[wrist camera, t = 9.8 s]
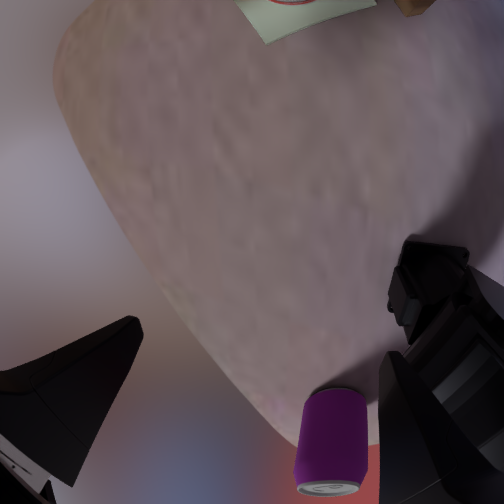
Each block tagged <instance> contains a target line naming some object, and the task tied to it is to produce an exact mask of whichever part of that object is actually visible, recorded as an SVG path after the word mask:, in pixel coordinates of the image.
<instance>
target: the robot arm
mask: <svg viewBox="0 0 504 504" xmlns="http://www.w3.org/2000/svg"><path fill="white" fill-rule="evenodd" d="M408 246H411V248H410V249H409V250H407V247H408ZM464 253H465V255H464V256H463V254H464ZM469 255H470V253H469V251H468V250H467V249H466V248H463V247H455V246H447V245H439V244H431V243H422V242H414V241H407V242H405V243H404V244H403V246H402V251H401V255H400V259H399V263H398V266H396V267H395V268H394V272H393V276H392V280H391V284H390V287H389V291H388V296H389V301H388V304H387V308H388V311H389V312H391V313H394V315H395V318H396V322H397V324H398V325H399V326H403V328H404V331H405V334H406V338H407V341H408V344H409V345H411V346H410V347H409V348H408V349H407V351H406V352H405V353H404V354H403V355H402V354H401V353H400V352H398V351H388V352H387V353H386V355H385V357H384V359H383V362H382V364H381V366H380V370H379V399H378V420H379V442H380V489H379V504H504V287H503V286H502V285H500V284H499V283H497V282H496V281H494V280H492V279H491V278H489V277H488V276H486V275H485V274H483V273H482V272H480V271H478V270H477V269H475V268H473V267H472V266H470V265H467V262H468V259H469ZM466 265H467V267H466ZM465 268H466V269H465ZM391 307H392V308H391ZM143 335H144V334H143V330H142V327H141V324H140V321H139V319H138V318H137V317H134V316H130V315H129V316H126V317H124V318H122V319H120V320H118V321H115V322H113V323H111V324H109V325H107V326H105V327H103V328H101V329H99V330H97V331H95V332H93V333H91V334H89V335H86V336H84V337H82V338H80V339H78V340H76V341H74V342H72V343H70V344H68V345H66V346H64V347H62V348H60V349H58V350H56V351H53V352H51V353H49V354H47V355H45V356H42V357H40V358H38V359H36V360H33V361H30V362H28V363H25V364H22V365H20V366H17V367H14V368H12V369H9V370H5V371H0V504H56V500H55V497H54V493H53V489H52V485H51V481H50V480H49V479H48V478H49V477H50V475H53V476H54V477H56V478H58V479H59V480H60V481H62V482H64V483H65V484H67V485H68V486H70V487H73V485H74V483H75V481H76V479H77V476H78V474H79V472H80V470H81V468H82V465H83V463H84V461H85V459H86V457H87V454H88V452H89V449H90V448H91V446H92V444H93V441H94V439H95V437H96V435H97V433H98V431H99V429H100V427H101V425H102V423H103V421H104V419H105V417H106V415H107V413H108V411H109V409H110V407H111V405H112V403H113V401H114V399H115V397H116V396H117V394H118V392H119V390H120V388H121V386H122V384H123V382H124V380H125V378H126V377H127V375H128V373H129V371H130V369H131V366H132V364H133V362H134V359H135V357H136V354H137V352H138V350H139V347H140V345H141V342H142V340H143Z"/></svg>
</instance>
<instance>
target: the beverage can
mask: <svg viewBox="0 0 504 504" xmlns="http://www.w3.org/2000/svg"><path fill="white" fill-rule="evenodd" d="M367 470H368V421H367V405H366V399H365V398H364V397H363V396H362V395H361V394H359V393H357V392H355V391H353V390H351V389H347V388H329V389H325V390H322V391H319V392H318V393H316V394H314V395H313V396H311V397H309V398H308V400H307V401H306V402H305V405H304V409H303V415H302V422H301V429H300V436H299V442H298V448H297V454H296V460H295V466H294V471H293V473H294V477H295V481H296V485H297V490H298V491H299V492H300V493H302V494H306V495H310V496H319V497H331V496H341V495H346V494H351V493H354V492H356V491H358V490H359V488H360V486H361V483H362V481H363V479H364V477H365V475H366V473H367Z"/></svg>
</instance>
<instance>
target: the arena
mask: <svg viewBox="0 0 504 504" xmlns="http://www.w3.org/2000/svg"><path fill="white" fill-rule="evenodd" d="M234 1H235V3H236V4H237V5H238V6H239V8H240V9H241V10H242V12H243V13H244V14H245V16H246V17H247V18H248V20H249V21H250V22H251V24H252V25H253V27H254V28H255V29H256V31H257V32H258V34H259V35H260V37H261V38H262V39H263V41H264V42H265V44H266V45H269V44H271V43H273V42H275V41H277V40H279V39H281V38H284V37H286V36H288V35H290V34H293V33H295V32H298V31H300V30H302V29H305V28H307V27H310V26H312V25H315V24H318V23H320V22H323V21H326V20H329V19H332V18H335V17H338V16H341V15H344V14H347V13H351V12H354V11H357V10H361V9H365V8H368V7H372V6H376V5H377V3H376V2H375V1H374V0H317V1H315V2H313V3H310V4H307V5H302V6H284V5H279V4H275V3H272V2H270V1H267V0H234ZM394 1H395V3H396V4H397V5H398V7H399V8H400V9H401V11H402V12H403V14H404V15H405V17H409V16H414V15H419V14H422V13H423V12H424V11H425V10H427V9H428V8H429V7H430V6H431V5H432V4H433V3H434V2H435V1H436V0H394Z"/></svg>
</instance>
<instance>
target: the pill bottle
mask: <svg viewBox="0 0 504 504" xmlns="http://www.w3.org/2000/svg"><path fill="white" fill-rule="evenodd" d="M267 1H270V2H272V3H275V4H279V5H284V6H302V5H307V4H310V3H313V2H315V1H317V0H267Z"/></svg>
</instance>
